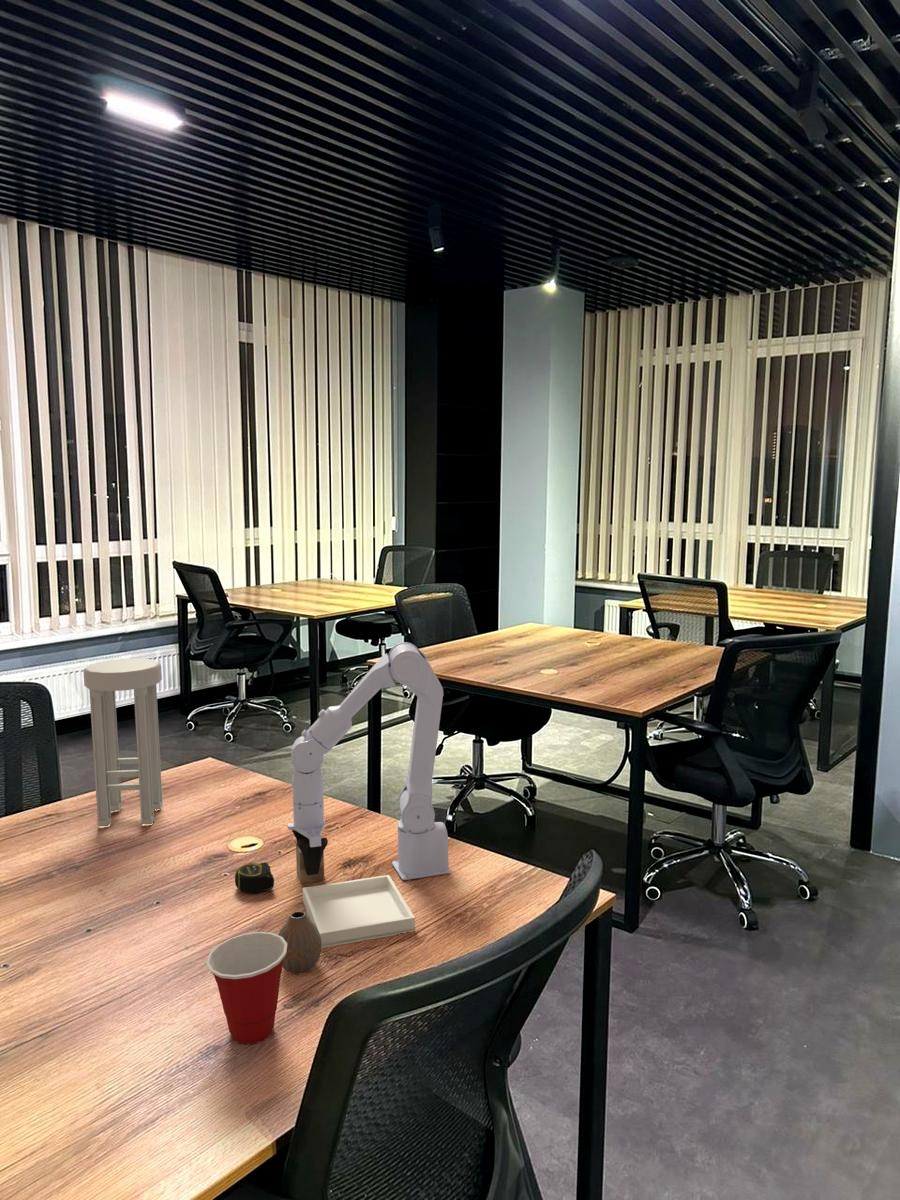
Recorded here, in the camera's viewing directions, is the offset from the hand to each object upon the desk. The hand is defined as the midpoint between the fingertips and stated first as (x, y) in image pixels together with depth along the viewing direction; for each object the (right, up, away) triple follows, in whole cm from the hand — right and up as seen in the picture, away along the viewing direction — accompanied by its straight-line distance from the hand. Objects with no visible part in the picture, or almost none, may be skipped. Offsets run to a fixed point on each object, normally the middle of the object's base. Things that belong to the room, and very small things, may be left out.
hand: (310, 868), depth 168 cm
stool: (-45, +2, +30) cm, 54 cm away
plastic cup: (-1, -8, -47) cm, 48 cm away
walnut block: (0, -2, 0) cm, 2 cm away
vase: (+3, -6, -31) cm, 32 cm away
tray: (+10, -4, -15) cm, 19 cm away
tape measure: (-9, -3, -4) cm, 10 cm away
